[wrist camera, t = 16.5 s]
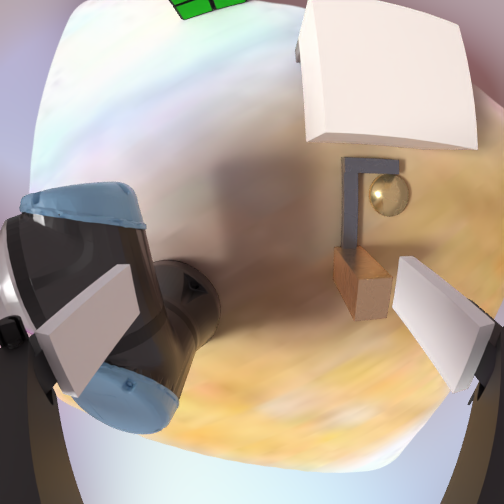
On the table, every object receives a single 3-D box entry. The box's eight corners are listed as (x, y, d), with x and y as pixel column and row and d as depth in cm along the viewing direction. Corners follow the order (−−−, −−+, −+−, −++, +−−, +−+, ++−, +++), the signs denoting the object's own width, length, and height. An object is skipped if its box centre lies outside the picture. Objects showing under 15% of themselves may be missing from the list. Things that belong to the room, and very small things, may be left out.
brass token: (405, 212, 38) (409, 214, 37) (370, 217, 39) (372, 218, 37) (403, 172, 36) (406, 172, 35) (366, 175, 37) (369, 176, 36)
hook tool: (387, 276, 41) (422, 313, 29) (333, 279, 41) (354, 321, 30) (393, 159, 36) (438, 161, 24) (334, 157, 36) (362, 155, 25)
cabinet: (408, 150, 35) (477, 149, 20) (301, 144, 36) (325, 132, 21) (400, 61, 31) (458, 25, 15) (295, 50, 32) (310, -9, 16)
